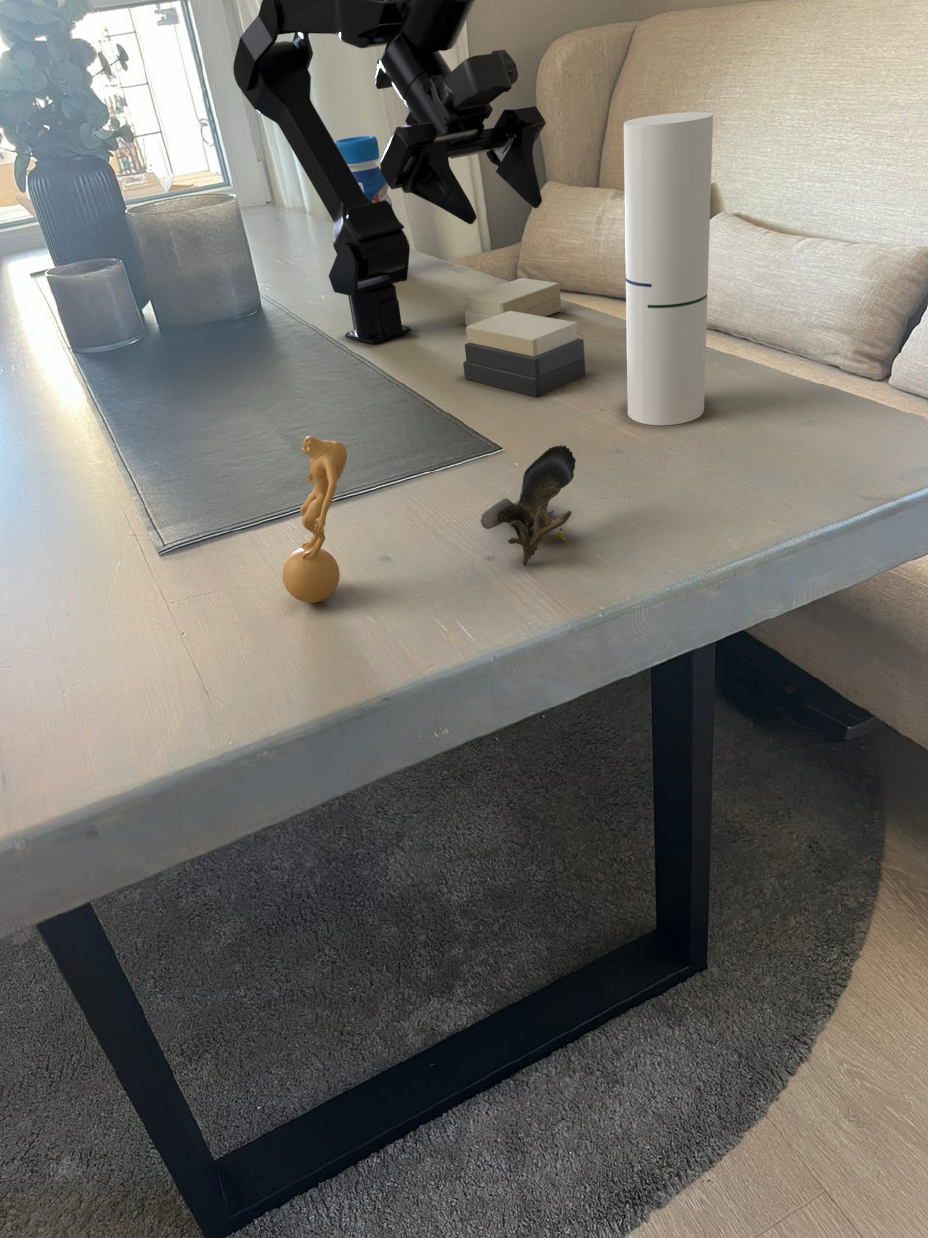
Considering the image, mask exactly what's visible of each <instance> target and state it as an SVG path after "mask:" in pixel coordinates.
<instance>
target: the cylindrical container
mask: <svg viewBox="0 0 928 1238" xmlns="http://www.w3.org/2000/svg"><path fill="white" fill-rule="evenodd" d="M713 127H714V114H713V113H712V112H708V111H707V112H706V111H689V112H688V111H687V112H673V113H664V114H663V113H662V114H655V115H648V116H642V117H637V118H632V119H629V120H625V121H624V122H623V176H624V177H623V181H624V185H623V187H624V246H625V247H624V249H625V255H624V256H625V315H626V316H625V317H626V318H625V319H626V321H625V322H626V323H625V324H626V328H625V329H626V383H627V385H626V388H627V416H628V417H629V418H630V419H631V420H633V421H634V422H636V423H640V424H644V425H650V426H673V425H674V426H675V425H681V424H685V423H690V422H692V421H695V420H697V419H698V418H699V417H701V416H702V415H703V414H704V411H705V387H706V386H705V385H706V358H707V357H706V354H707V352H706V351H707V324H708V323H707V319H708V316H707V315H708V293H709V290H708V289H709V286H708V285H709V259H710V258H709V257H710V256H709V255H710V230H711V229H710V225H711V224H710V223H711V199H712V197H711V196H712V194H711V193H712V166H713V165H712V164H713V163H712V161H713V132H714V131H713V130H714V128H713Z"/></svg>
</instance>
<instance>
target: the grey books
mask: <svg viewBox="0 0 928 1238" xmlns="http://www.w3.org/2000/svg"><path fill="white" fill-rule="evenodd" d="M464 351H465V361H463V362H462V364H463V374H464V379H465V380H468V381H473V382H476V383H480V384H484V385H487V386H491V387H494V388H500V389H504V390H507V391H511V392H516V393H519V394H523V395H527V396H531V397H534V398H538V397H540V396H541V397H542V395H546V394H547V393H549V392H552V391H554V390H556V389H559V388H561V387H563V386H566V385H567V384H570V383H573V382H575V381H577V380H579V379H582V378H584V377H586V359H585V340H584V338H579V337H577V340H575V341H572V342H570V343H567V344H565V345H562V346H560V347H557V348H555V349H553V350H550V351H548V352H545V353H543V354H540V355H538V356H535V357H533V356H528V355H524V354H519V353H514V352H510V351H505V350H501V349H496V348H491V347H487V346H482V345H478V344H473V343H468V342H467V343H464Z"/></svg>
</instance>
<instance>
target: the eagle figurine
mask: <svg viewBox="0 0 928 1238" xmlns="http://www.w3.org/2000/svg"><path fill="white" fill-rule="evenodd" d="M573 455H574V453H573V452H572V451H571V450H570V448H569V447H567V445H566V444H565V445H561V444H560V445H555V446H552V447H549V448H548V449H545V451H544V452H543V453H542V454H541V455H540V456H539V457H538V458H537V459H535V460H534V461H533V462H532V463H531V465H529V466H528V467H527V469H526V470H525V471H524V473H523V475H522V482H521V483H522V484H521V487H520V488H521V489H520V493H519V498H518V499H517V500H516V501H515V502H512V501H511V500H510V499H508V498H502V499H501V500H498V501H496V503H494V504H492V505H491V506H490V507H488V508H487V509H486V510H484V512H482V513H481V516H480V517H481V518H480V519H479V522H480V525H481V526H482V528H484V529H485V530H490V529H493V528H496V527H497V526H499V525H501V524H503V523H507V524H510V525H511V527H512V528H513V529H514V531H515V533H516V536H517V537H512V538H509V539H508V540H507V544H510V545H515V544H518V545H521V546H522V560H521V561H522V562H521V563H522V565H523V566H527V565H528V563H529V561H530V560H531V557H534V556H535V553H536V551H537V550H538V547H539V545H540V543H541V542H542V540H543V539H544V537H545V536H546V535H549V536H550V537H554V538H557V539H559V540H561V541H562V542H566V538H565V536H564V535H563V530H562V527H561V526H563V525H564V524H566V523H567V521H568V520H569V518H570V517H571V516H572V513H573V512H572V510H567V511H566V512H564V513H563V514H562V515H561V516H560V517H557V518H556V519H555V520H553V519H552V518H551V517H550V515H549V514H553V513H554V512H555V511H554V510H548V506H549V503H550V502H551V500H552V499H554V498H555V497H556V496H557V495H559V493H560V492H561V490H562V489H563V488H566V487H567V485H569V484H570V483H571V482H572V480H573V479H574V477H575V474H574V472H575V469H576V462H577V459H576V458H575V457H574V456H573Z"/></svg>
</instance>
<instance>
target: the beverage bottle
mask: <svg viewBox="0 0 928 1238" xmlns="http://www.w3.org/2000/svg"><path fill="white" fill-rule="evenodd" d="M334 142H335V144H336V146H337V147H338V149H339V151H340V153H341V154H342V156H343V158H344V160H345V161H346V163H347V165H348V166H349V168H350V170H351V172H352V173H353V175H354V177H355V179H356V180H357V182H358V184H359V186H360V187H361V189H362V191H363V193H364V194H365V196H366V197H367V199H368V200H370V201H372V202H373V203H375V202H379V201H383V200H386V201H387V202H388V203H389V204H390V205H391V206H392V207H393V202H392V199H391V197H390V196H389V193H388V190H389V185H388V184H387V182H386V180H385V179H384V177H383V175H382V174H381V167H379V165H378V164H377V162H378V161H380V149H379V148H380V147H379V141H378V138H377V136H375V135H360V136H354V137H346V138H340V139H338V140H335V141H334Z"/></svg>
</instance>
